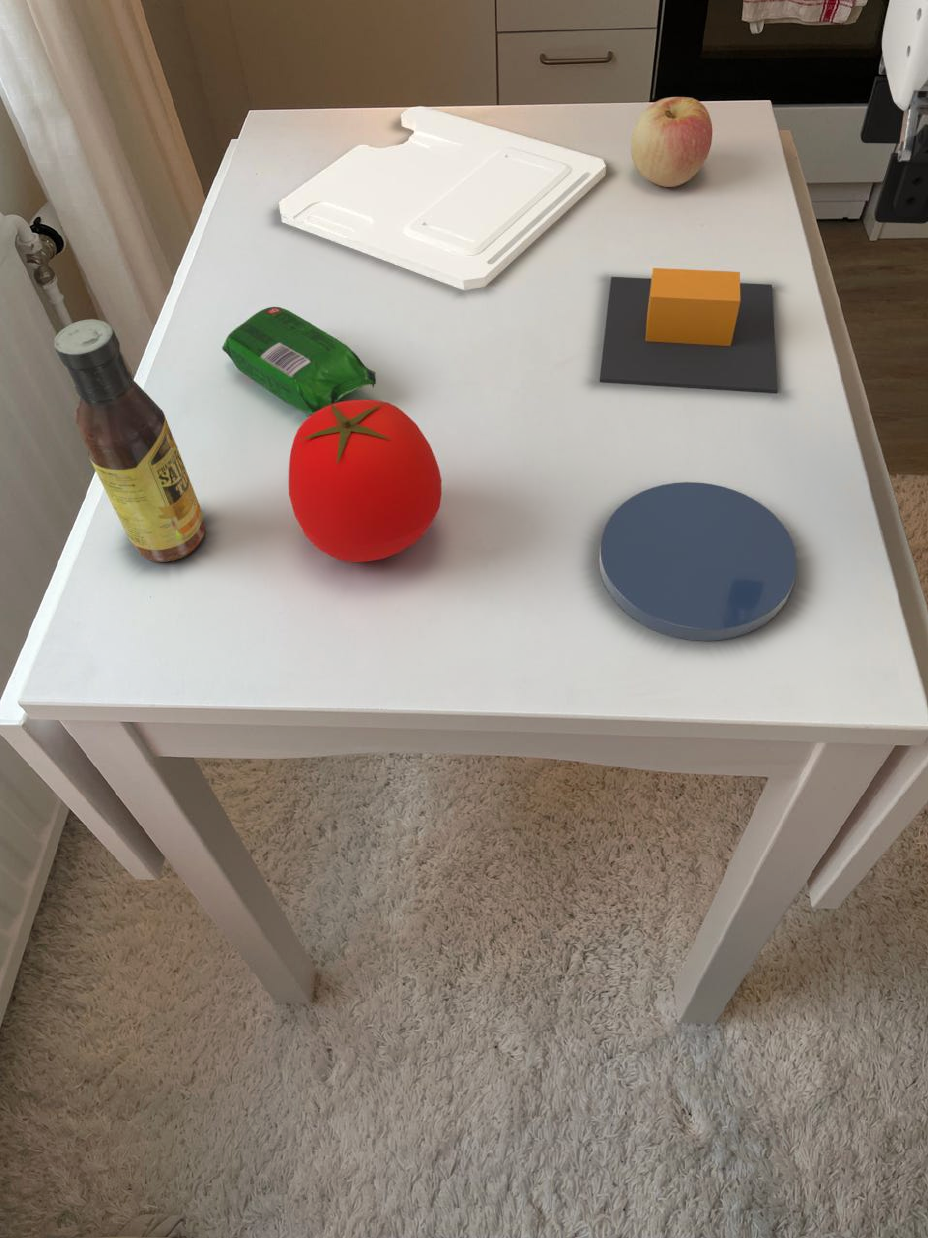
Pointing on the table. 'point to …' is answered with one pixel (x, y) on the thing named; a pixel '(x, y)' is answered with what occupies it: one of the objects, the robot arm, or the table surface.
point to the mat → (689, 345)
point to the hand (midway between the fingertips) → (892, 178)
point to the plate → (697, 561)
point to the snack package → (296, 360)
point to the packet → (693, 306)
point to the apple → (671, 140)
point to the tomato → (363, 480)
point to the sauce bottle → (130, 445)
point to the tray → (444, 197)
